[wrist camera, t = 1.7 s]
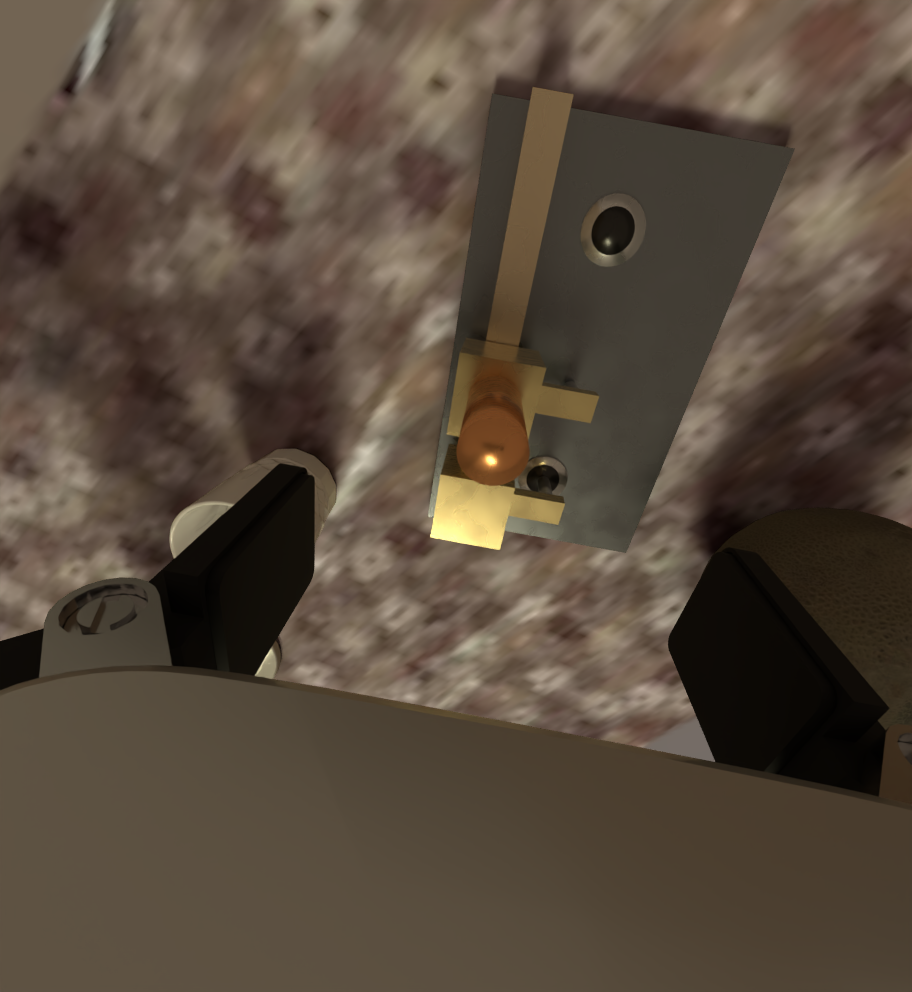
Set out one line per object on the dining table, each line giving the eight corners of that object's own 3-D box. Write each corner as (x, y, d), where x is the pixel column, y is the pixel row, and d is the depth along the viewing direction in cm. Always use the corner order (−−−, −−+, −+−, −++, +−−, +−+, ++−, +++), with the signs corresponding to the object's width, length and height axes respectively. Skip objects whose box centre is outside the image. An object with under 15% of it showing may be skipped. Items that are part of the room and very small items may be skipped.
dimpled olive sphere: (882, 565, 35) (1115, 748, 22) (707, 639, 40) (811, 824, 27) (817, 428, 31) (1060, 553, 17) (629, 530, 36) (707, 688, 22)
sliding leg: (572, 421, 30) (622, 528, 18) (457, 400, 30) (428, 492, 18) (591, 356, 28) (662, 426, 16) (468, 333, 28) (444, 386, 16)
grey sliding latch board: (622, 545, 36) (653, 614, 29) (429, 510, 36) (412, 570, 29) (783, 152, 24) (902, 106, 17) (492, 99, 24) (490, 31, 17)
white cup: (304, 423, 34) (235, 480, 25) (363, 504, 37) (320, 581, 28) (229, 466, 36) (142, 532, 27) (290, 540, 39) (229, 621, 30)
